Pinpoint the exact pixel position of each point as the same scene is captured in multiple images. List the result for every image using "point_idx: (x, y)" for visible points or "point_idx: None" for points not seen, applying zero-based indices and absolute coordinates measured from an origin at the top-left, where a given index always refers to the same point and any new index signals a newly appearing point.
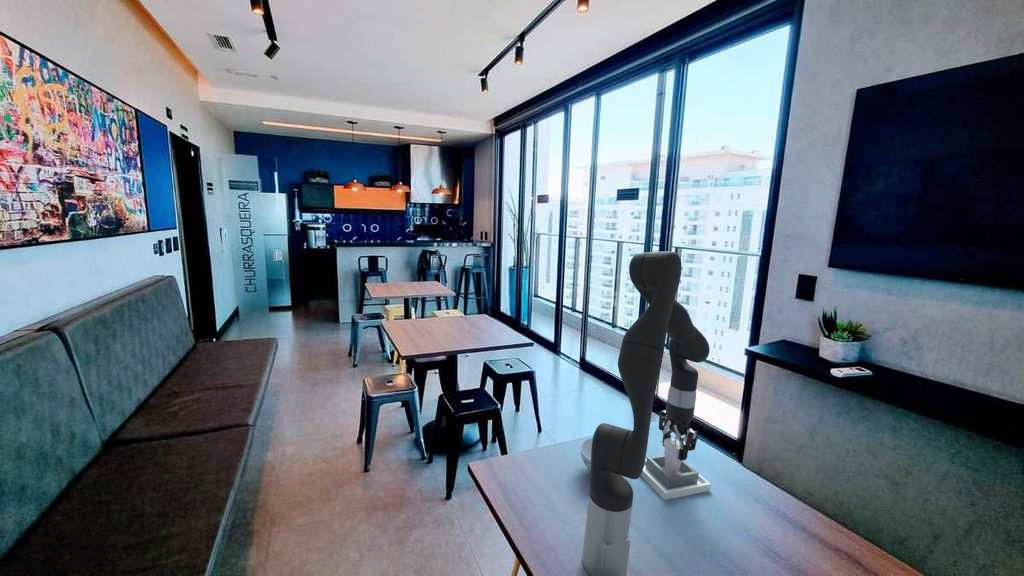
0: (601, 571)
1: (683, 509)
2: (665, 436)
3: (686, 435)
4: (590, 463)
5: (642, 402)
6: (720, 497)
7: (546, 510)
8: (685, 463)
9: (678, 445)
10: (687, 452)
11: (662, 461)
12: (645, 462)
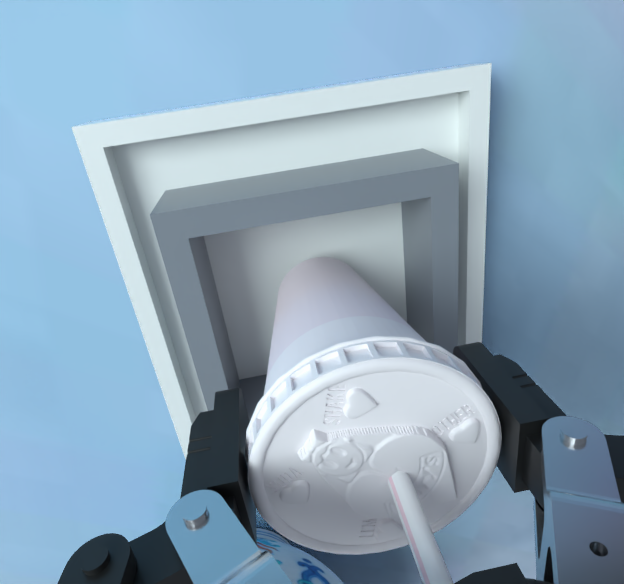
0: None
1: (540, 323)
2: (255, 543)
3: (589, 560)
4: None
5: None
6: (536, 29)
7: None
8: (321, 204)
9: (439, 464)
10: (553, 407)
11: (217, 322)
12: (186, 397)
